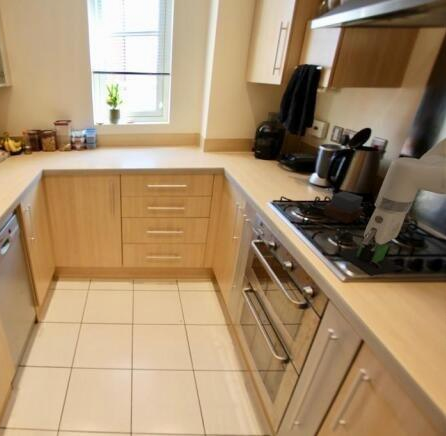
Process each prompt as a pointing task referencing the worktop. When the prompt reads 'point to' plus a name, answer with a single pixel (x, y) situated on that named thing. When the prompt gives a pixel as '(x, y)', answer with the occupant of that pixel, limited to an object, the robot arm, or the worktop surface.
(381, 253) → the green cube
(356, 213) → the base block
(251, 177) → the worktop surface
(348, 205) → the middle block
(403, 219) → the robot arm
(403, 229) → the salt shaker
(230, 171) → the worktop surface
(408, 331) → the worktop surface
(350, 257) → the mat
